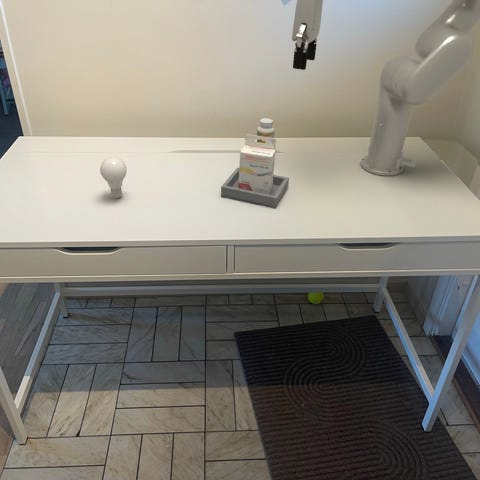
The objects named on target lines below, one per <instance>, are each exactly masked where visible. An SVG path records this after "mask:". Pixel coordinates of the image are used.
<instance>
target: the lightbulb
mask: <svg viewBox="0 0 480 480" xmlns="http://www.w3.org/2000/svg"><path fill="white" fill-rule="evenodd" d="M127 171H128V169H127V165H126V164H125V162H124V161H123V160H122V159H120V158H119V157H116V156H110V157H107V158H105V159H104V160H103V161H102V162H101V163H100V167H99V172H100V175H101V177H102V178H103V179H104V180H105V181H106V183H107V185H108V186H109V187H108V188H110V195H111V197H112V198H114V199H118V198H121V197H122V196H123V192H122V186H123V181H124V179H125V178H126V175H127Z"/></svg>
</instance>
